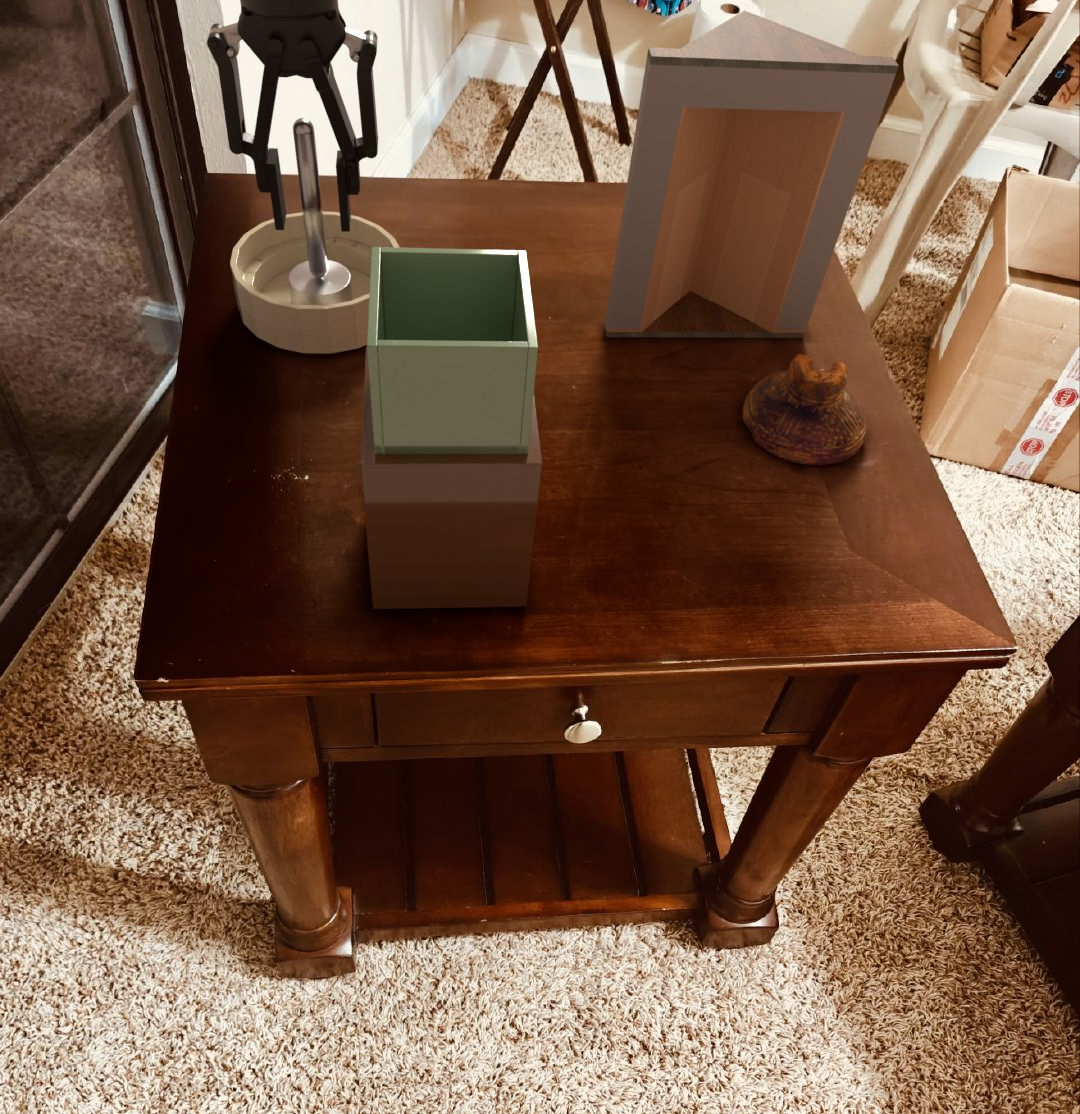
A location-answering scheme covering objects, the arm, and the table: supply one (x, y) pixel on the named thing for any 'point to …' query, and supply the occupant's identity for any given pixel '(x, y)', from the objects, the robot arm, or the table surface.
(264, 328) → the mixing bowl
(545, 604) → the table surface
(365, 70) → the robot arm
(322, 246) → the rod with disc base
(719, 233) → the cabinet
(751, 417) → the bell
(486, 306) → the utensil holder
